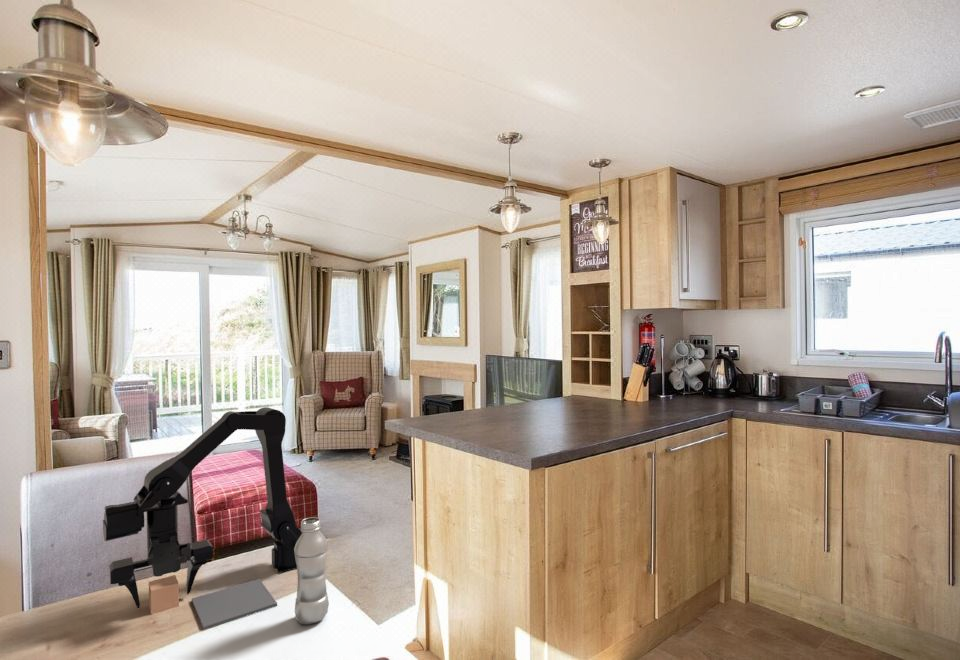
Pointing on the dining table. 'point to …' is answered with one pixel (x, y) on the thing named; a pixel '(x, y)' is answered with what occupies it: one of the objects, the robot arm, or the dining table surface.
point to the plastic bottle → (311, 573)
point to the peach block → (163, 594)
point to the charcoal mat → (232, 603)
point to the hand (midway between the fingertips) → (163, 600)
